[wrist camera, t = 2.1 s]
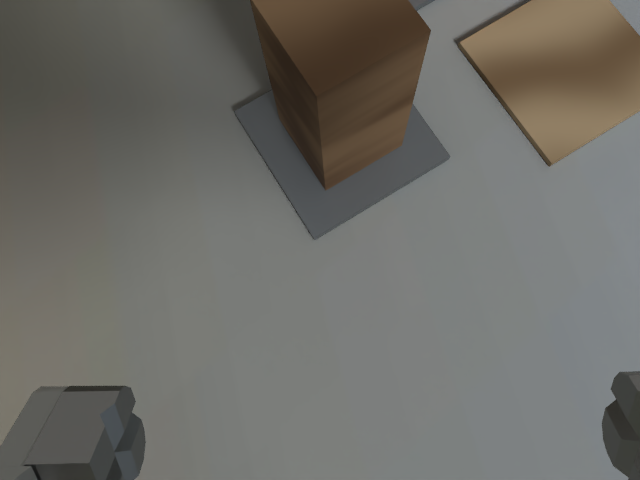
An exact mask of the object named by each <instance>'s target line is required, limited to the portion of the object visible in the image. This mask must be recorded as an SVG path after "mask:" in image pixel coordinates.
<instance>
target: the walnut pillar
mask: <svg viewBox="0 0 640 480" xmlns="http://www.w3.org/2000/svg"><path fill="white" fill-rule="evenodd" d="M250 2H251V6H252V10H253V14H254V18H255V22H256V26H257V30H258V34H259V38H260V42H261V46H262V50H263V54H264V58H265V62H266V66H267V70H268V74H269V78H270V82H271V86H272V90H273V95H274V99H275V103H276V107H277V111H278V115H279V119H280V121H281V123H282V124H283V126H284V127H285V129H286V130H287V132H288V133H289V135H290V136H291V138H292V140H293V141H294V143H295V144H296V146H297V147H298V149H299V150H300V152H301V153H302V155H303V157H304V158H305V160H306V161H307V163H308V164H309V166H310V167H311V169H312V170H313V172H314V174H315V175H316V177H317V178H318V180H319V181H320V183H321V184H322V186H323V187H324V189H325V191H326V190H328V189H330V188H331V187H333V186H335V185H336V184H338V183H340V182H341V181H343V180H345V179H346V178H348V177H350V176H351V175H353V174H355V173H356V172H358V171H360V170H361V169H363V168H365V167H367V166H368V165H370V164H372V163H373V162H375V161H377V160H378V159H380V158H382V157H383V156H385V155H387V154H388V153H390V152H392V151H393V150H395V149H397V148H398V147H400V146H402V143H403V139H404V135H405V131H406V127H407V123H408V119H409V115H410V111H411V107H412V103H413V99H414V95H415V91H416V87H417V83H418V79H419V75H420V71H421V67H422V63H423V60H424V56H425V52H426V48H427V44H428V40H429V36H430V32H431V30H430V28H429V27H428V26H427V24H426V23H425V22H424V20H423V19H422V18H421V16H420V15H419V14H418V12H417V11H416V10H415V8H414V7H413V6H412V4H411V3H410V2H409V0H250Z"/></svg>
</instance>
